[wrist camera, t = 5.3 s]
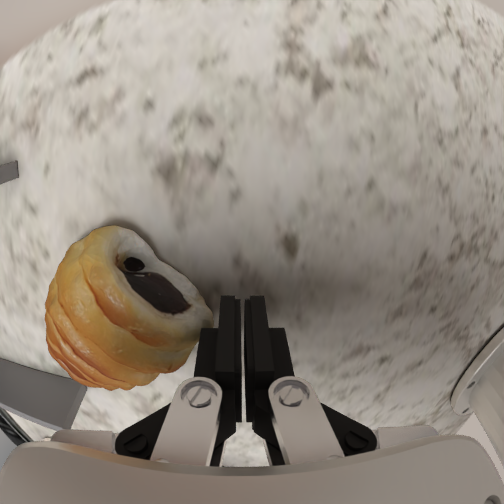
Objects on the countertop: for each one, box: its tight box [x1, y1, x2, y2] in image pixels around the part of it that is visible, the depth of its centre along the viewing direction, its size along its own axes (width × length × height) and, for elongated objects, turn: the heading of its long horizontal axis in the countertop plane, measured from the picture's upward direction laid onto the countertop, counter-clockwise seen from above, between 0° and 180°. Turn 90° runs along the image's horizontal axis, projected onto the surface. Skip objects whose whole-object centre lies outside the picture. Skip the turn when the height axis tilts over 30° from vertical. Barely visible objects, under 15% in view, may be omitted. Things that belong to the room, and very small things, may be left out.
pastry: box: [45, 225, 214, 391], centre depth 11 cm, size 9×7×4 cm
